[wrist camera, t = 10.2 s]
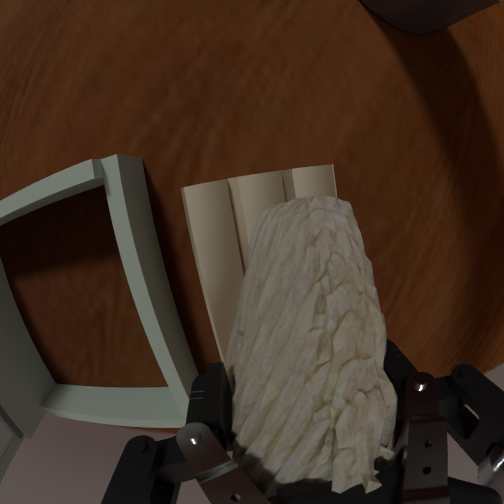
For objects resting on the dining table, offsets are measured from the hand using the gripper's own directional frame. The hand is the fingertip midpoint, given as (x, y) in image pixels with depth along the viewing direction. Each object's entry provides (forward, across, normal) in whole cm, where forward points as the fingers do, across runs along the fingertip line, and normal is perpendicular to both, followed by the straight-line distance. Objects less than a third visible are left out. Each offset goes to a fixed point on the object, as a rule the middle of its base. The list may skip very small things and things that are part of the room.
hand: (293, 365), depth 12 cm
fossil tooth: (+3, 0, 0) cm, 3 cm away
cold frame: (+7, +16, -1) cm, 18 cm away
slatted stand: (+7, 0, 0) cm, 7 cm away
